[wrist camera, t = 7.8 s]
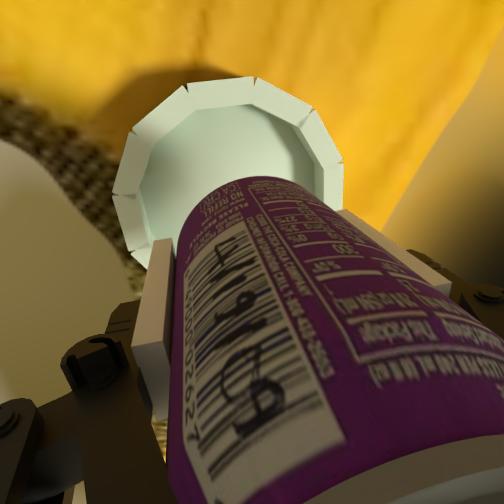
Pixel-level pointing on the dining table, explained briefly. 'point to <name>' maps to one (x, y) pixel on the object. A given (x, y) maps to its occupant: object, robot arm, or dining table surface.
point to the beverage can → (321, 365)
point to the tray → (217, 154)
